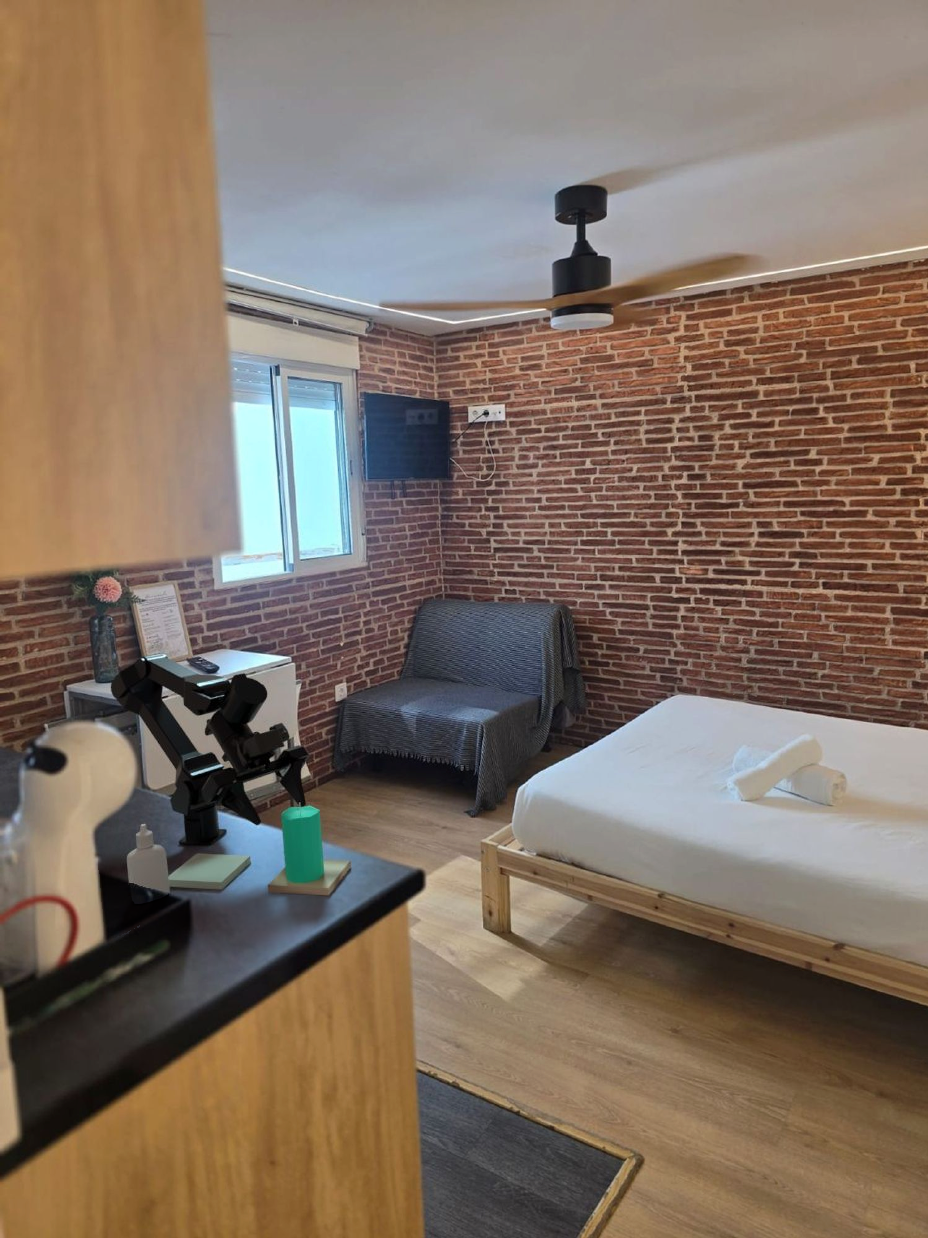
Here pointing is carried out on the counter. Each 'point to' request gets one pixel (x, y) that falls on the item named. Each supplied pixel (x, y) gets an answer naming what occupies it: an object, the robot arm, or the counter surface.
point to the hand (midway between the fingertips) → (282, 814)
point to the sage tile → (208, 871)
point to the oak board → (321, 886)
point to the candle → (302, 844)
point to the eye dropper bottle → (148, 863)
